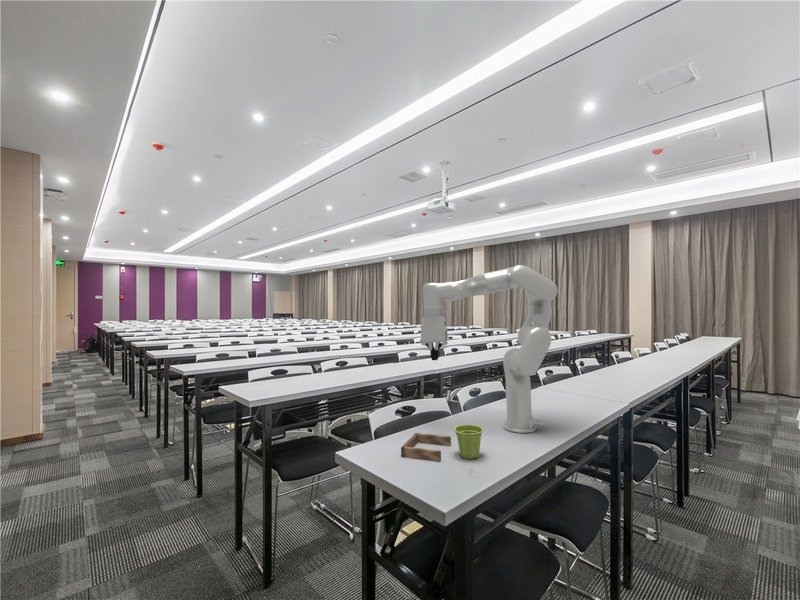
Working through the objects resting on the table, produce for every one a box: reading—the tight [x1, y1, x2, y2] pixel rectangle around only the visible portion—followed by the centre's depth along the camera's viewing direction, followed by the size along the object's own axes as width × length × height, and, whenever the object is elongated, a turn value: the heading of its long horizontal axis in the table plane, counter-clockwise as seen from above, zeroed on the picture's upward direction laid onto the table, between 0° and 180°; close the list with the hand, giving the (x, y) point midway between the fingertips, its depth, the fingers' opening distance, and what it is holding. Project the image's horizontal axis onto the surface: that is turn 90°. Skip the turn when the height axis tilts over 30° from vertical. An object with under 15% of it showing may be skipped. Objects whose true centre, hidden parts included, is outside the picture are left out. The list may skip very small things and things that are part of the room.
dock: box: [400, 432, 452, 463], centre depth 124 cm, size 13×15×3 cm
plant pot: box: [453, 424, 484, 460], centre depth 119 cm, size 9×9×9 cm
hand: (434, 359), depth 144 cm, fingers closed
